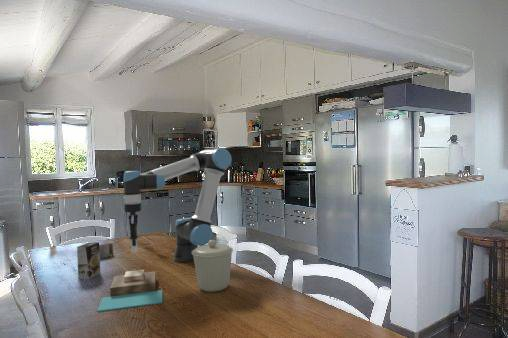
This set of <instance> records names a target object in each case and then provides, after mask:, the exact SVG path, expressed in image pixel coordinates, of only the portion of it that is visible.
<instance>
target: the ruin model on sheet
mask: <svg viewBox="0 0 508 338" xmlns="http://www.w3.org/2000/svg"><path fill="white" fill-rule="evenodd" d="M99 251H100V259H105V258H108V256H110V257H114V243H112V242H109V243H106V244H99ZM112 255H113V256H112ZM104 257H105V258H104Z"/></svg>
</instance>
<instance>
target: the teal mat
mask: <svg viewBox="0 0 508 338" xmlns="http://www.w3.org/2000/svg"><path fill="white" fill-rule="evenodd" d="M158 304H163V289H161V290H155V291H151V292H143V293H135V294H128V295H120V296H112V297H111V296H105V297H102V298H101V301H100V303H99V305H98V308H97V309H96V311H97V313H101V312H107V311H113V310H115V311H116V310H121V309H127V308H128V309H129V308H135V307H136V308H137V307H144V306H149V305H150V306H151V305H152V306H153V305H158Z"/></svg>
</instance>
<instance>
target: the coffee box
mask: <svg viewBox="0 0 508 338" xmlns="http://www.w3.org/2000/svg"><path fill="white" fill-rule="evenodd" d="M99 245H100V242H98V241H97V242H95V241H94V242H93V241H92V242H87V243H83V244H80V245H78V246H77V247H76V253H77V274H78V275H77V276H78V279H79V280H90V279H93V278H95V277H97V276H99V275H100V274H101V258H100V251H99Z"/></svg>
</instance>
